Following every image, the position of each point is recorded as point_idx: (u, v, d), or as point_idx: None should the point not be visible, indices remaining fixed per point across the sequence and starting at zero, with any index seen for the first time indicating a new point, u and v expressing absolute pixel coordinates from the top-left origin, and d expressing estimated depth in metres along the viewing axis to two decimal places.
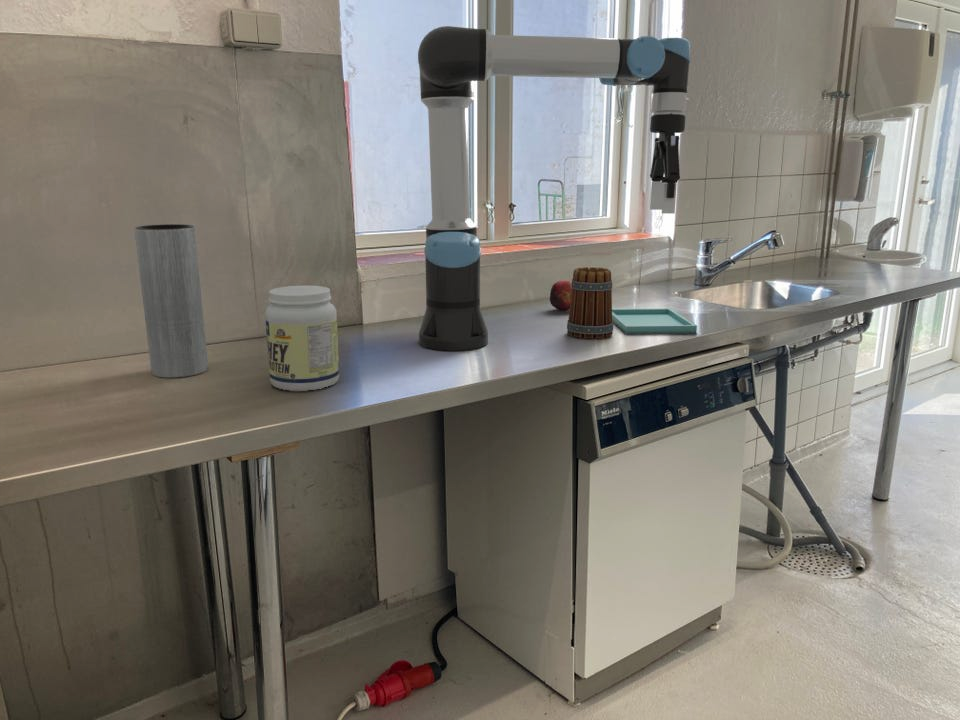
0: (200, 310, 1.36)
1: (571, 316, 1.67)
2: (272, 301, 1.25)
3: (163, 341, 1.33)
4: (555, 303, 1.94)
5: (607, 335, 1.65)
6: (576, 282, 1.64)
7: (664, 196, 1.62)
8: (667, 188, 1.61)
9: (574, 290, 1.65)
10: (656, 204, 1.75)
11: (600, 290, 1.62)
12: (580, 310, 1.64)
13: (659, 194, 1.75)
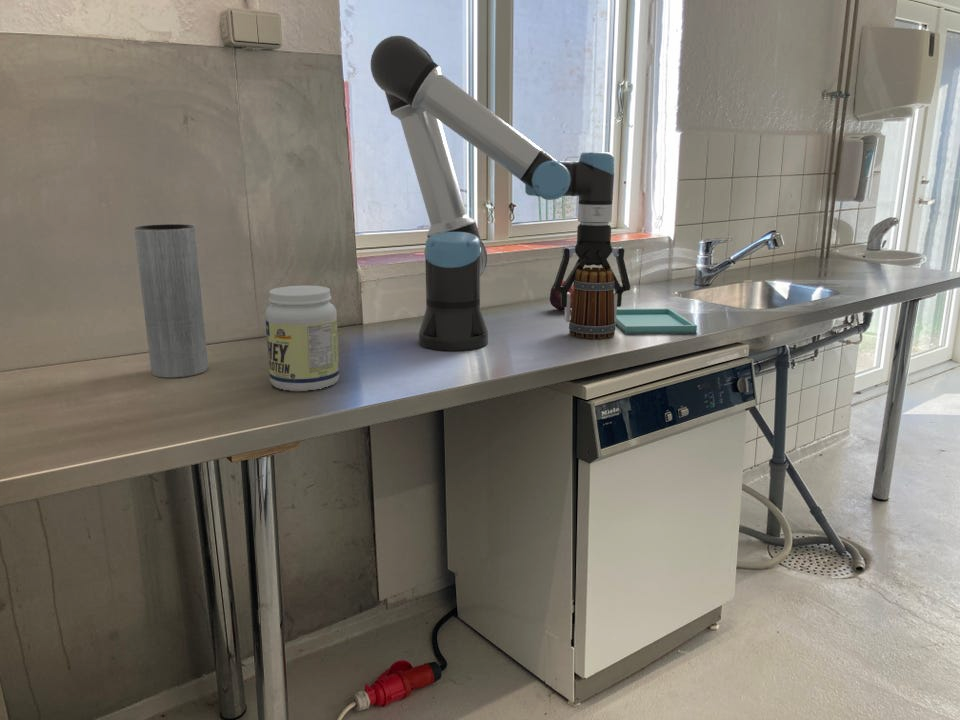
0: (200, 310, 1.36)
1: (573, 316, 1.67)
2: (272, 301, 1.25)
3: (163, 341, 1.33)
4: (555, 303, 1.94)
5: (609, 335, 1.65)
6: (578, 282, 1.64)
7: None
8: None
9: (576, 290, 1.65)
10: None
11: (602, 290, 1.62)
12: (582, 310, 1.64)
13: None
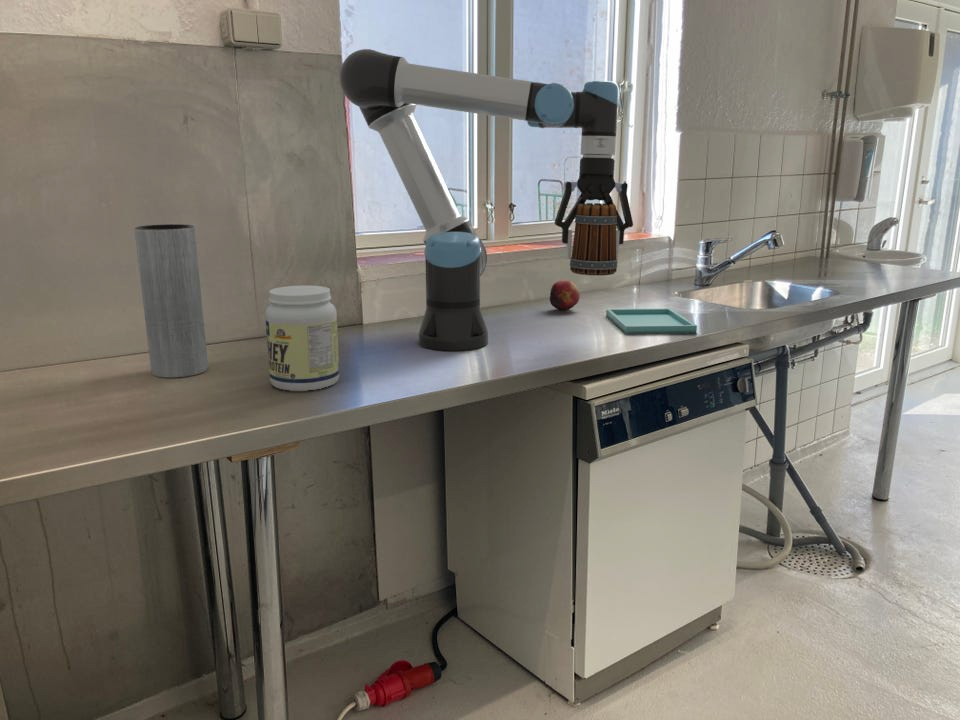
0: (200, 310, 1.36)
1: (574, 252, 1.63)
2: (272, 301, 1.25)
3: (163, 341, 1.33)
4: (555, 303, 1.94)
5: (611, 271, 1.62)
6: (580, 216, 1.60)
7: None
8: None
9: (578, 225, 1.61)
10: None
11: (604, 224, 1.59)
12: (584, 245, 1.60)
13: None
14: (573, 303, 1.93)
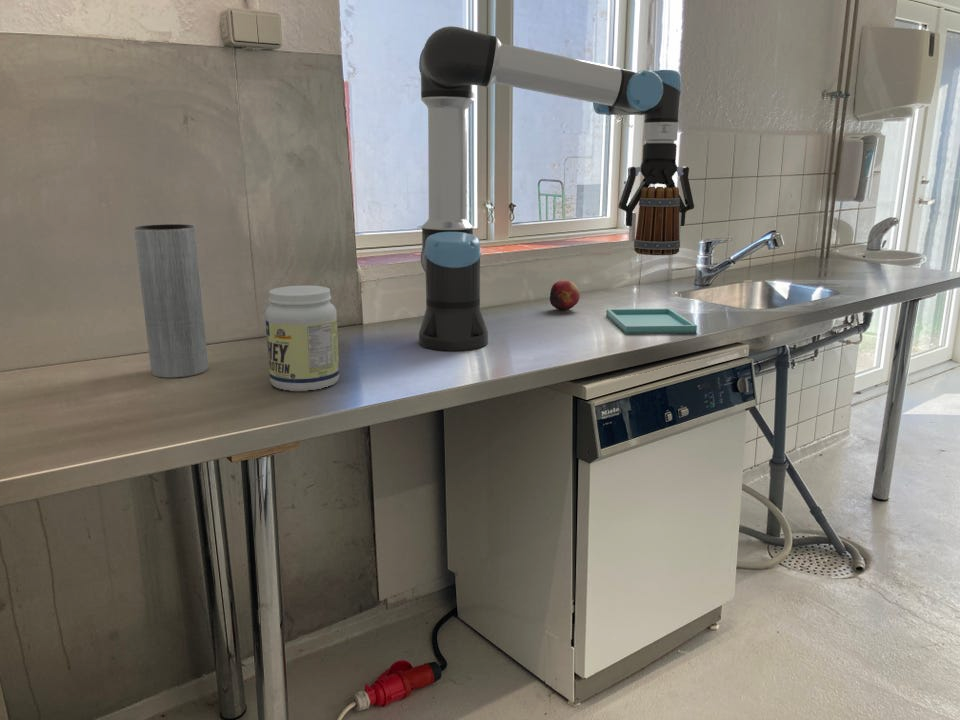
0: (200, 310, 1.36)
1: (639, 234, 1.70)
2: (272, 301, 1.25)
3: (163, 341, 1.33)
4: (555, 303, 1.94)
5: (675, 251, 1.69)
6: (645, 199, 1.68)
7: None
8: None
9: (642, 207, 1.69)
10: None
11: (669, 206, 1.66)
12: (649, 226, 1.68)
13: None
14: (573, 303, 1.93)
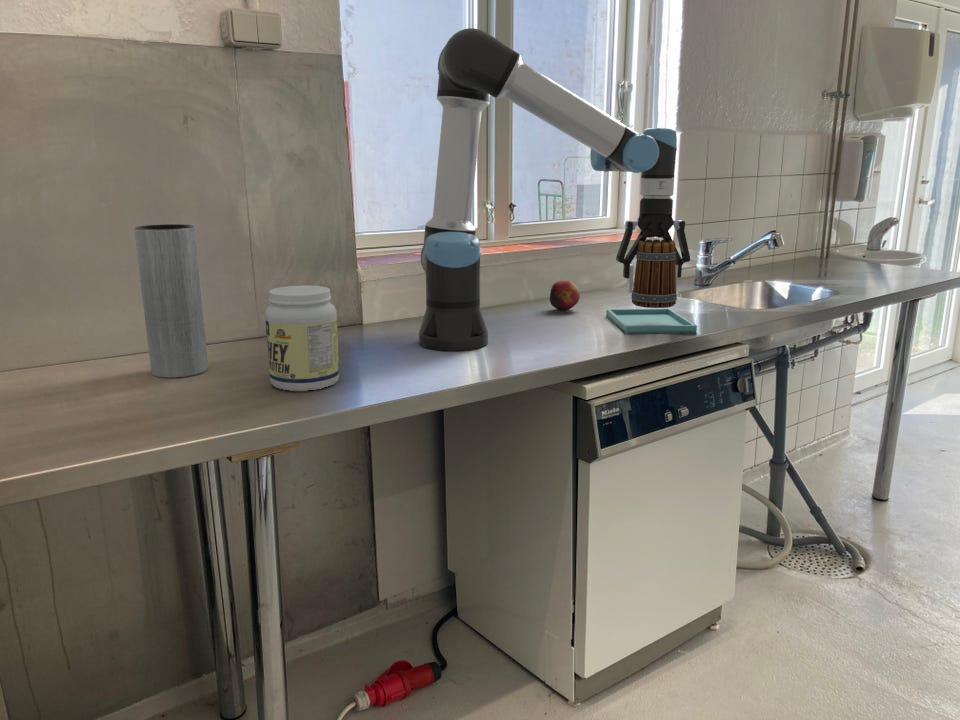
0: (200, 310, 1.36)
1: (636, 286, 1.74)
2: (272, 301, 1.25)
3: (163, 341, 1.33)
4: (555, 303, 1.94)
5: (671, 304, 1.72)
6: (642, 253, 1.71)
7: None
8: None
9: (640, 261, 1.72)
10: None
11: (665, 260, 1.69)
12: (646, 280, 1.71)
13: None
14: (573, 303, 1.93)
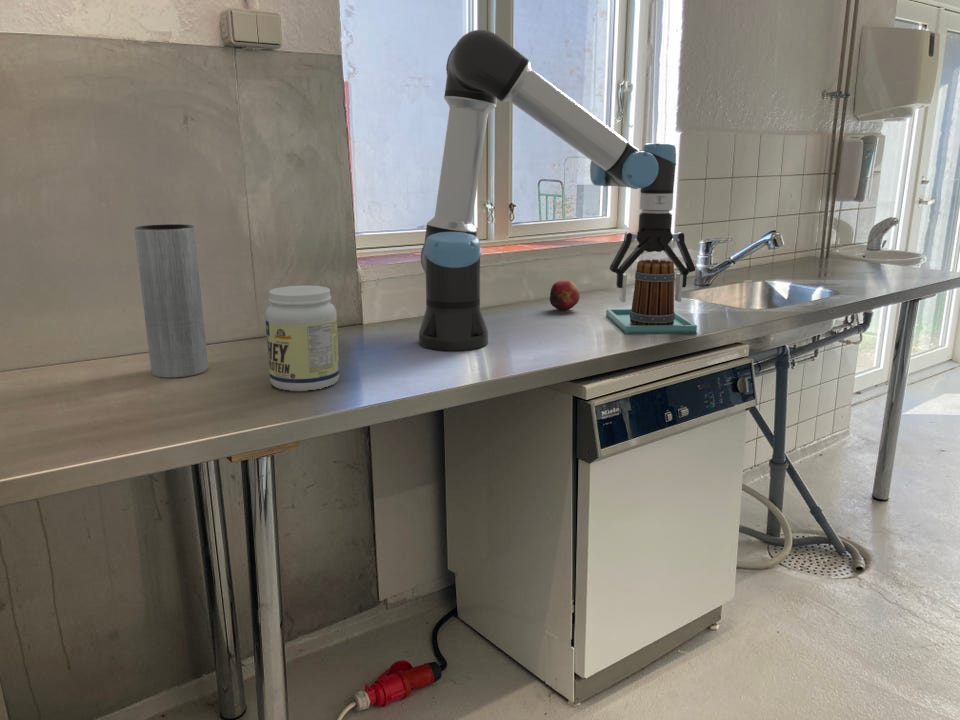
0: (200, 310, 1.36)
1: (634, 306, 1.75)
2: (272, 301, 1.25)
3: (163, 341, 1.33)
4: (555, 303, 1.94)
5: (669, 324, 1.74)
6: (641, 273, 1.72)
7: None
8: None
9: (638, 281, 1.73)
10: (676, 295, 1.79)
11: (664, 281, 1.70)
12: (644, 300, 1.72)
13: (678, 286, 1.78)
14: (573, 303, 1.93)
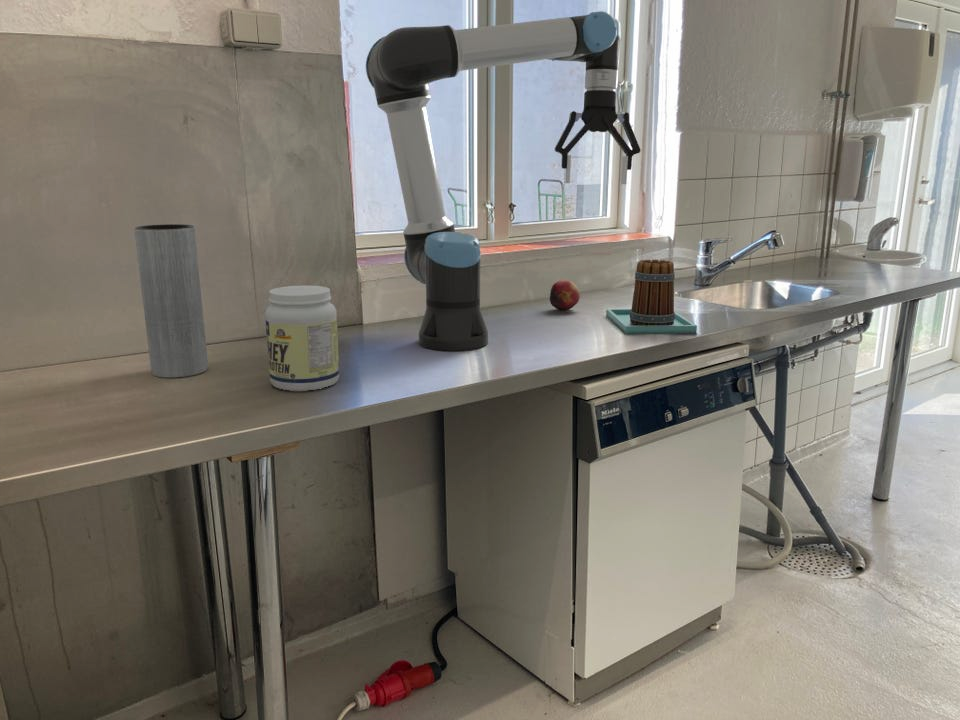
0: (200, 310, 1.36)
1: (634, 306, 1.75)
2: (272, 301, 1.25)
3: (163, 341, 1.33)
4: (555, 303, 1.94)
5: (669, 324, 1.74)
6: (641, 273, 1.72)
7: None
8: None
9: (638, 281, 1.73)
10: (622, 179, 1.78)
11: (664, 281, 1.71)
12: (644, 300, 1.72)
13: (623, 169, 1.77)
14: (573, 303, 1.93)
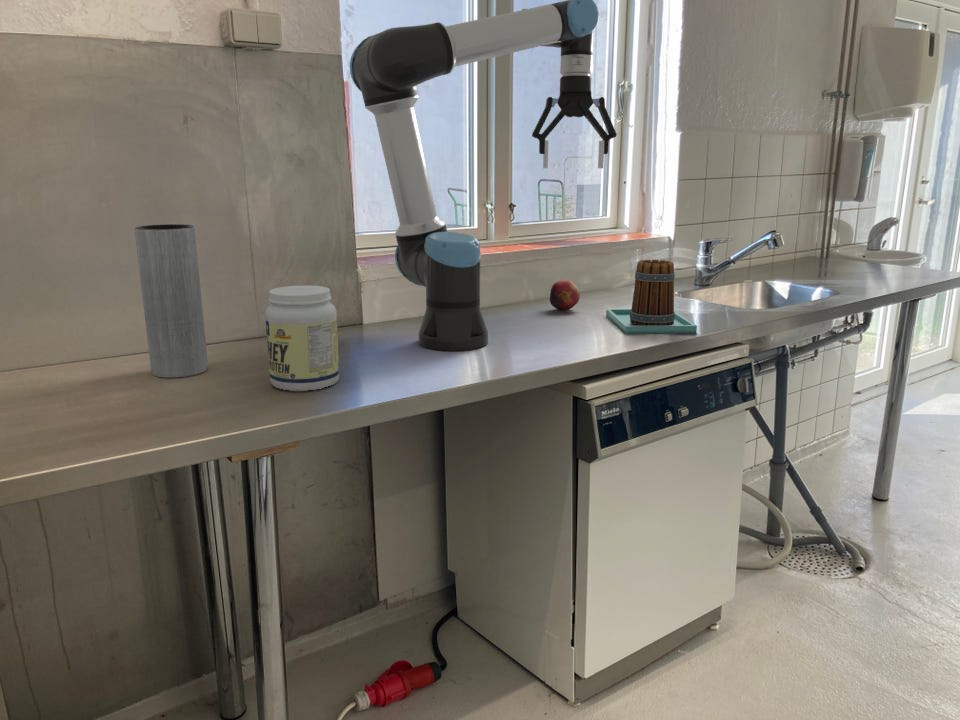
0: (200, 310, 1.36)
1: (634, 306, 1.75)
2: (272, 301, 1.25)
3: (163, 341, 1.33)
4: (555, 303, 1.94)
5: (669, 324, 1.74)
6: (641, 273, 1.72)
7: None
8: None
9: (638, 281, 1.73)
10: (599, 163, 1.80)
11: (664, 281, 1.70)
12: (644, 300, 1.72)
13: (600, 153, 1.79)
14: (573, 303, 1.93)
